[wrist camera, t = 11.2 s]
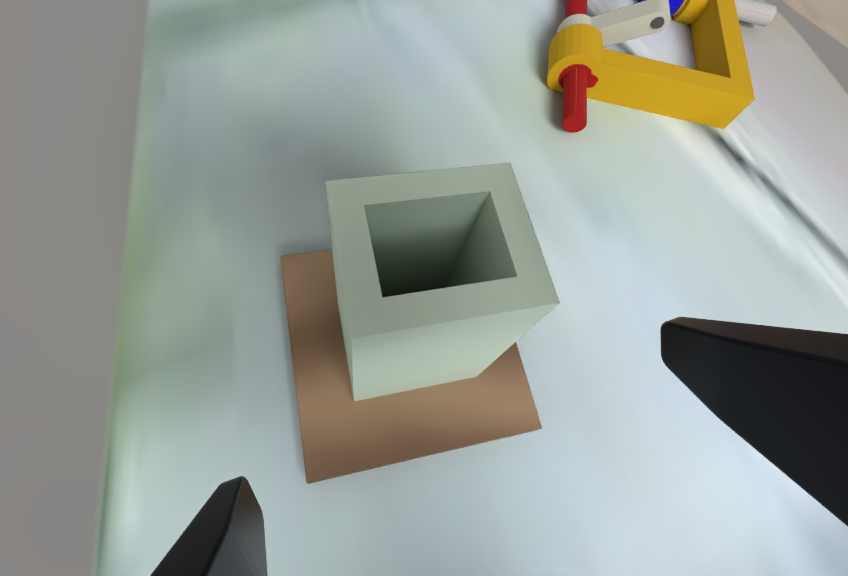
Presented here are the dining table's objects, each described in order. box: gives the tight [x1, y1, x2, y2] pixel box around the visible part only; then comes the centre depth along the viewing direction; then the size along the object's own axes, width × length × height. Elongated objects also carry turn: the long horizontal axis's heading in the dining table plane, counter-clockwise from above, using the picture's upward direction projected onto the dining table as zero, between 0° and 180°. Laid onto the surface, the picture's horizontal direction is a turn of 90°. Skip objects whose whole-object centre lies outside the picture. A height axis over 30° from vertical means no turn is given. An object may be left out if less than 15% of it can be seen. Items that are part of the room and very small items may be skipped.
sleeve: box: [325, 163, 560, 401], centre depth 18 cm, size 5×6×10 cm
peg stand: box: [280, 249, 542, 483], centre depth 21 cm, size 11×11×5 cm
